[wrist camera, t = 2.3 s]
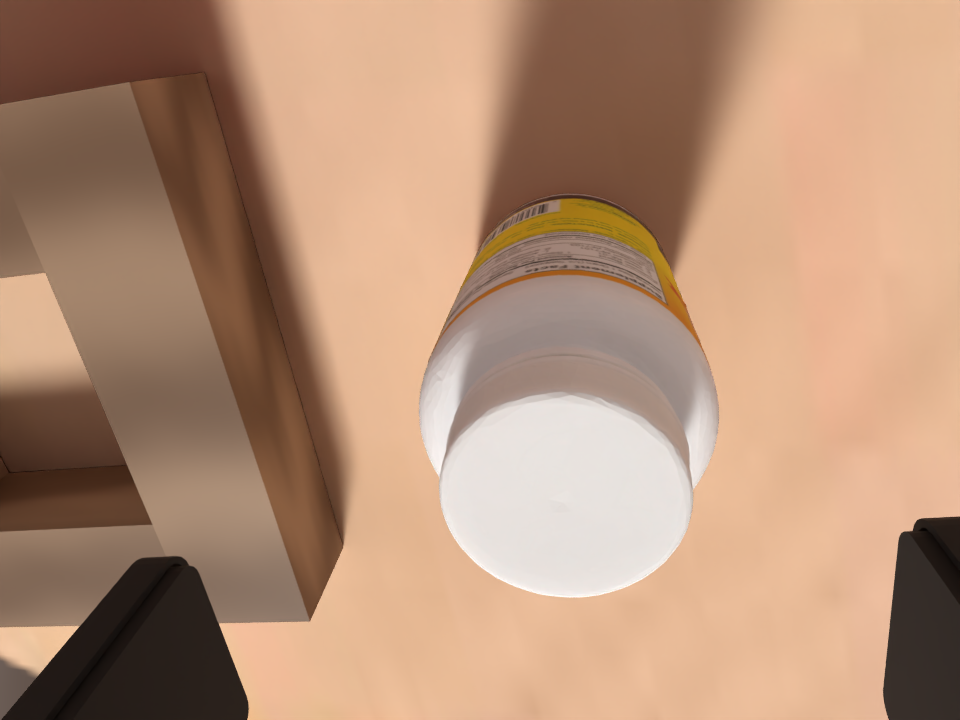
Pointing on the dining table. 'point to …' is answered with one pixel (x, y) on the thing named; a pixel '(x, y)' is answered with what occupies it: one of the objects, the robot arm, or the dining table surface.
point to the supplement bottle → (569, 402)
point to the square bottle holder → (157, 364)
